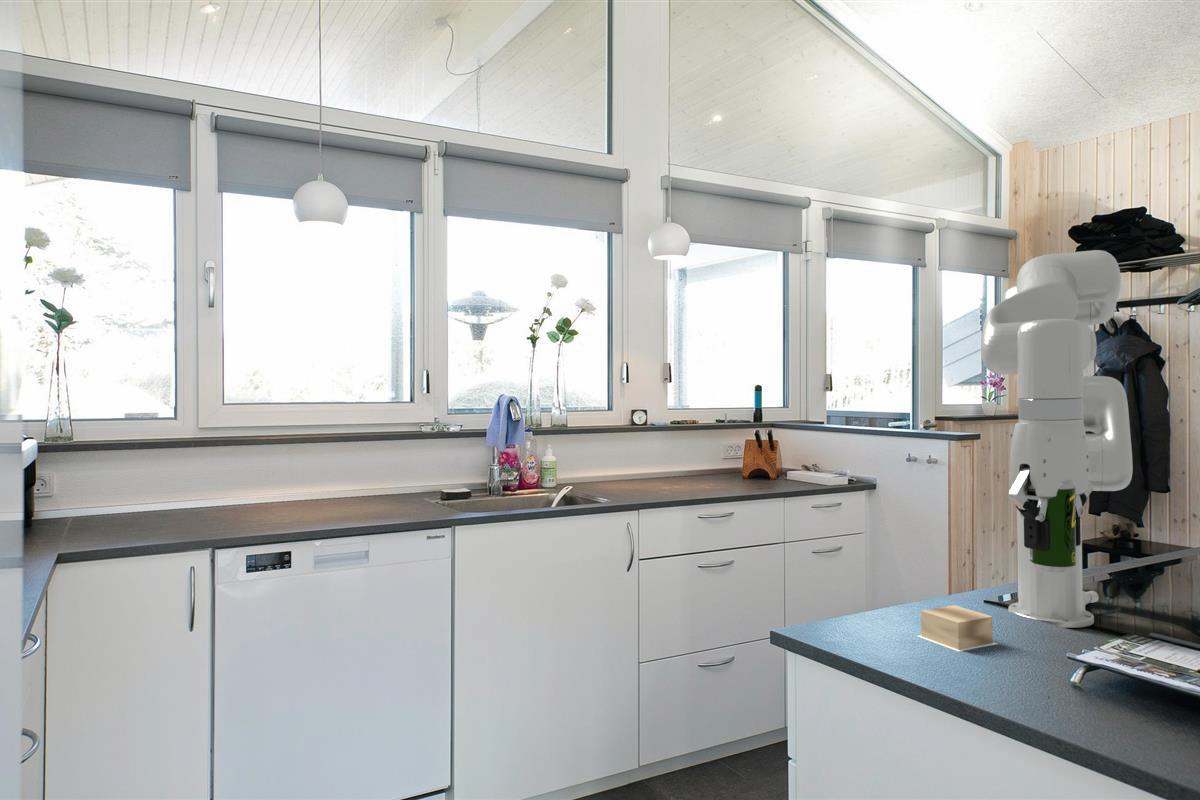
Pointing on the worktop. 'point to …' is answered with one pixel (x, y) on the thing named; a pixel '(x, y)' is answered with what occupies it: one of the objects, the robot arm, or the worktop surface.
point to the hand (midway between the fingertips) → (1052, 545)
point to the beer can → (1059, 532)
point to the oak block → (957, 627)
